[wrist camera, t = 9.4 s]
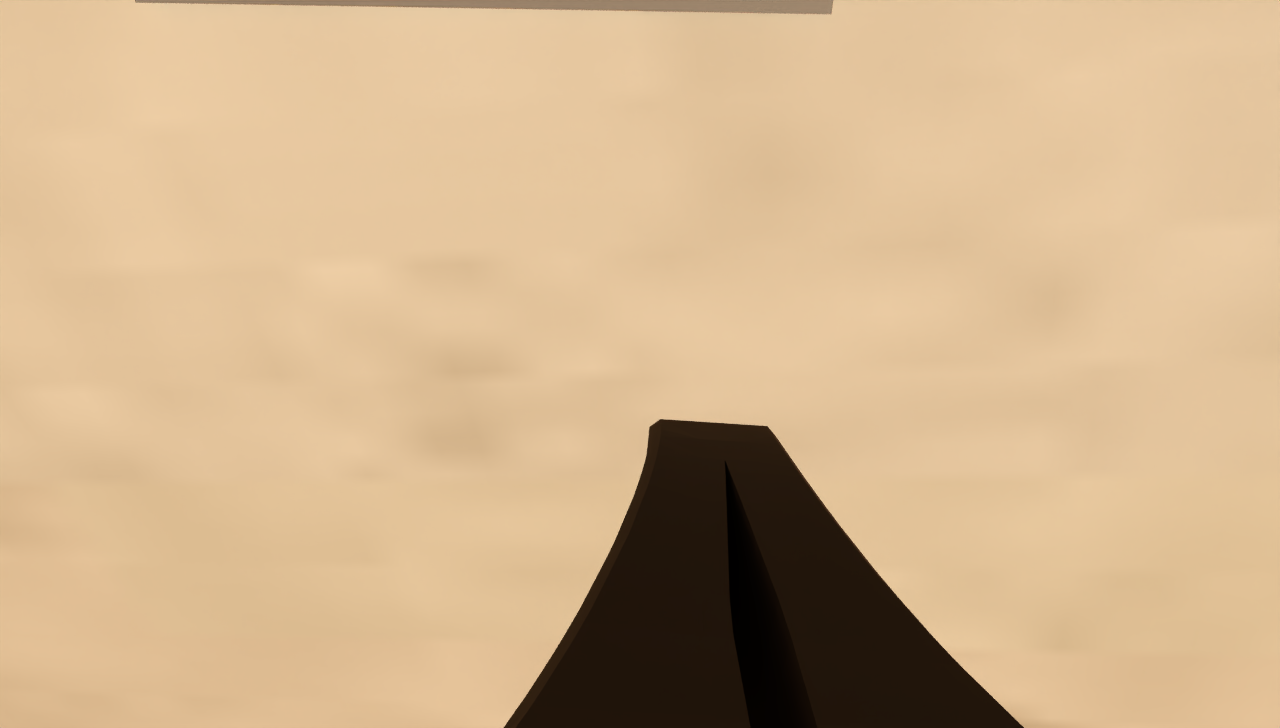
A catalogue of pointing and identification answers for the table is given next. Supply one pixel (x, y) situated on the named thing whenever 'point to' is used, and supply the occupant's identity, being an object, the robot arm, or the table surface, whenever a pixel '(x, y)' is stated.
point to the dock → (565, 4)
